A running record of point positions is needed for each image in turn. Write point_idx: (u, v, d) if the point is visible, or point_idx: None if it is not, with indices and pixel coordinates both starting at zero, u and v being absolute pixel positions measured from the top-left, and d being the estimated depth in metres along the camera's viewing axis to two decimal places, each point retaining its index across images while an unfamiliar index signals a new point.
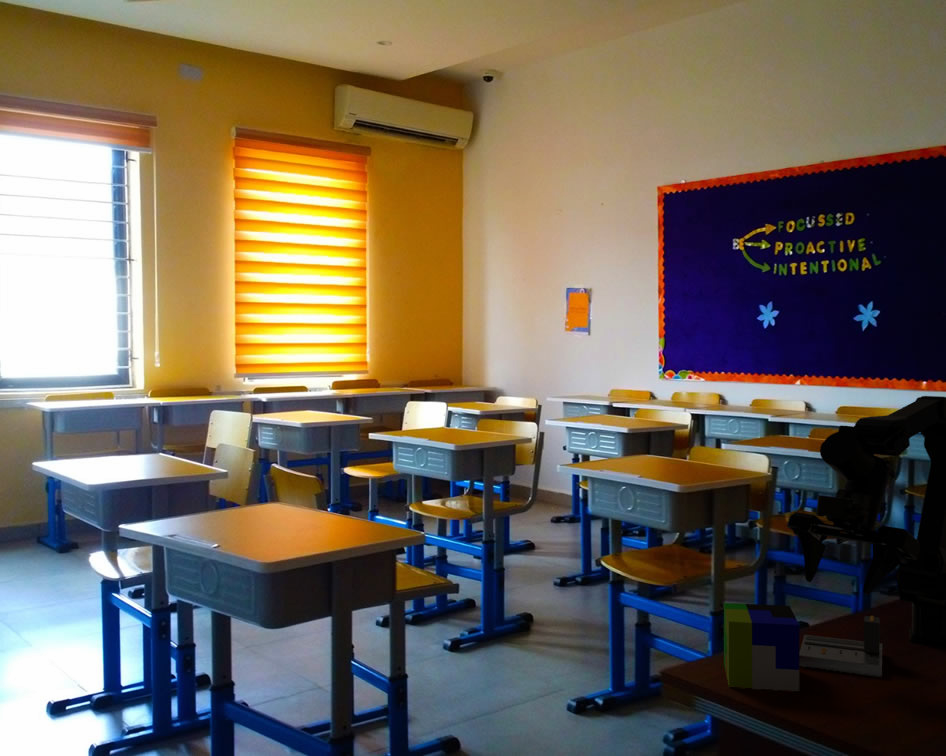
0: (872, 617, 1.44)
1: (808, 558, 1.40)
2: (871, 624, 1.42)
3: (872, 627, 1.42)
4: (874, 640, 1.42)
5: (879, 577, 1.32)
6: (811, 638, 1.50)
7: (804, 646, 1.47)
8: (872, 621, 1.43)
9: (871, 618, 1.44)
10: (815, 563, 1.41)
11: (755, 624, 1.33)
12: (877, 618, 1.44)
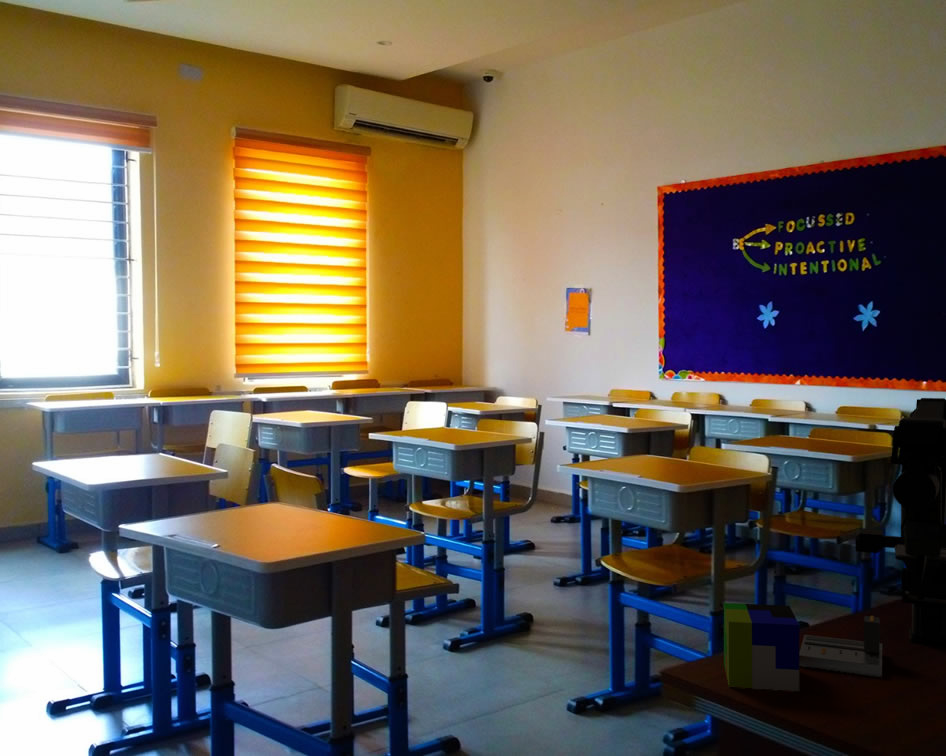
0: (872, 617, 1.44)
1: (916, 579, 1.40)
2: (871, 624, 1.42)
3: (872, 627, 1.42)
4: (874, 640, 1.42)
5: None
6: (811, 638, 1.50)
7: (804, 646, 1.47)
8: (872, 621, 1.43)
9: (871, 618, 1.44)
10: None
11: (755, 624, 1.33)
12: (877, 618, 1.44)
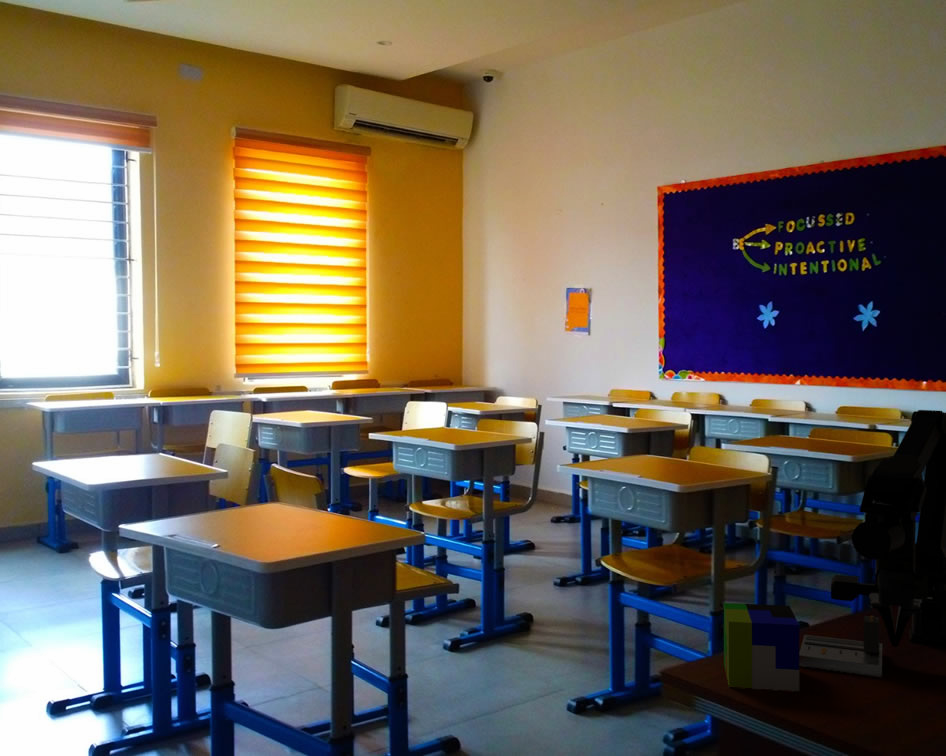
0: (872, 617, 1.44)
1: (890, 626, 1.42)
2: (871, 624, 1.42)
3: (872, 627, 1.42)
4: (874, 640, 1.42)
5: None
6: (811, 638, 1.50)
7: (804, 646, 1.47)
8: (872, 621, 1.43)
9: (871, 618, 1.44)
10: (893, 625, 1.43)
11: (755, 624, 1.33)
12: (877, 618, 1.44)
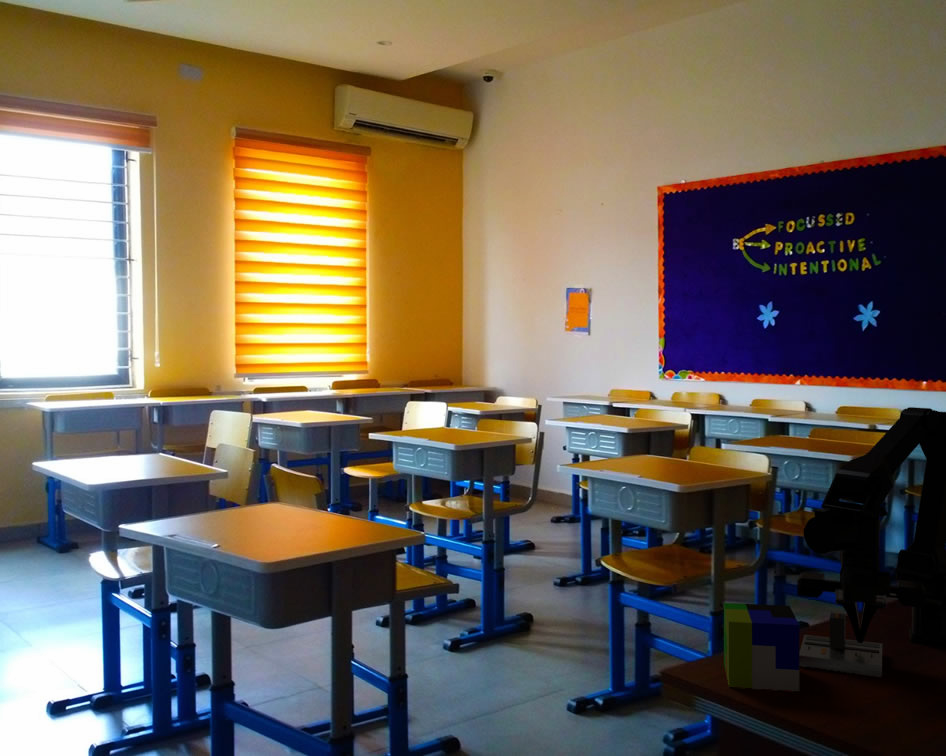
0: (838, 613, 1.46)
1: (855, 622, 1.44)
2: (837, 620, 1.45)
3: (838, 623, 1.45)
4: (839, 636, 1.44)
5: None
6: (811, 638, 1.50)
7: (804, 646, 1.47)
8: (837, 617, 1.45)
9: (837, 614, 1.46)
10: (858, 621, 1.45)
11: (755, 624, 1.33)
12: (843, 614, 1.47)
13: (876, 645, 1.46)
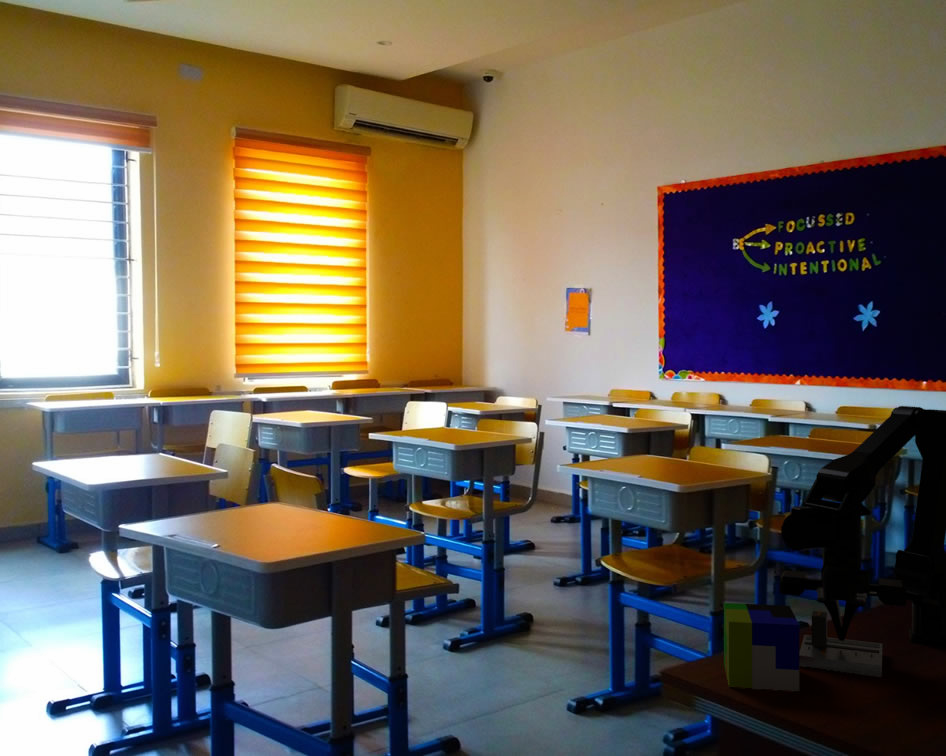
0: (820, 612, 1.48)
1: (837, 621, 1.45)
2: (818, 618, 1.46)
3: (819, 621, 1.46)
4: (821, 634, 1.46)
5: None
6: (811, 638, 1.50)
7: (804, 646, 1.47)
8: (819, 615, 1.46)
9: (819, 612, 1.47)
10: (840, 619, 1.46)
11: (755, 624, 1.33)
12: (825, 613, 1.48)
13: (876, 645, 1.46)
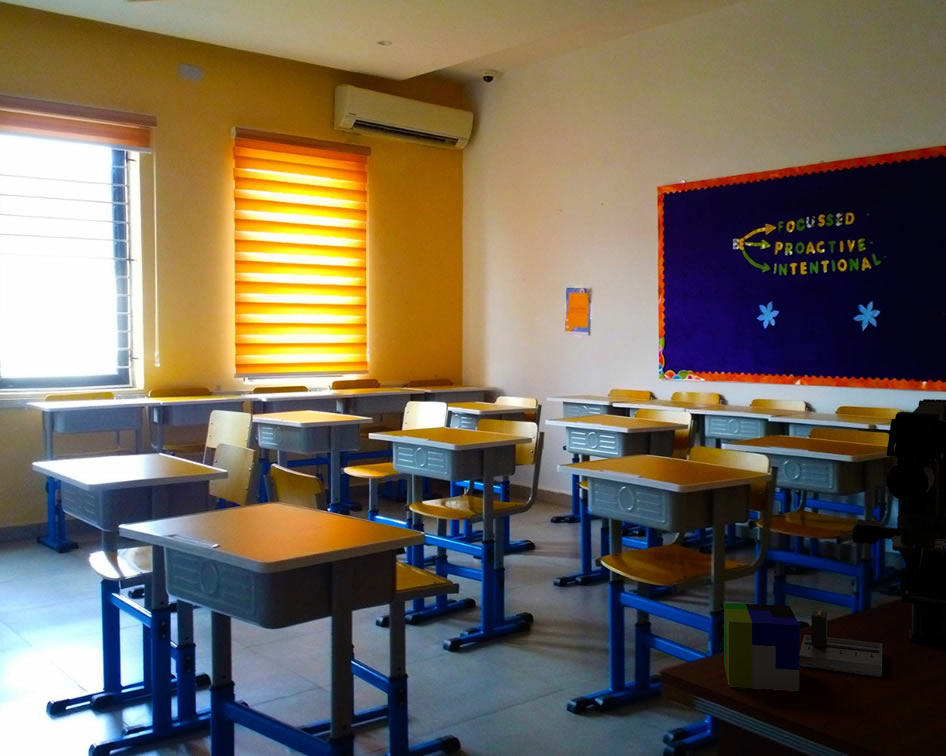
0: (820, 612, 1.48)
1: (913, 569, 1.42)
2: (818, 618, 1.46)
3: (819, 621, 1.46)
4: (821, 634, 1.46)
5: None
6: None
7: (804, 646, 1.47)
8: (819, 615, 1.46)
9: (818, 612, 1.47)
10: None
11: (755, 624, 1.33)
12: (825, 613, 1.48)
13: (876, 645, 1.46)
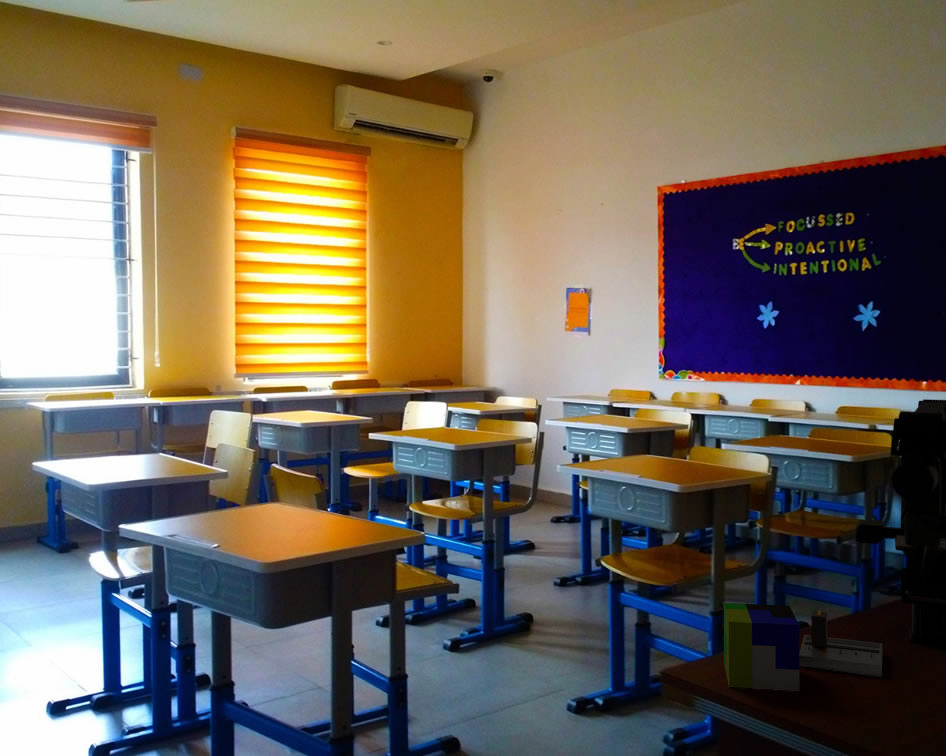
0: (820, 612, 1.48)
1: (916, 569, 1.42)
2: (818, 618, 1.46)
3: (819, 621, 1.46)
4: (821, 634, 1.46)
5: None
6: None
7: (804, 646, 1.47)
8: (819, 615, 1.46)
9: (818, 612, 1.47)
10: None
11: (755, 624, 1.33)
12: (825, 613, 1.48)
13: (876, 645, 1.46)
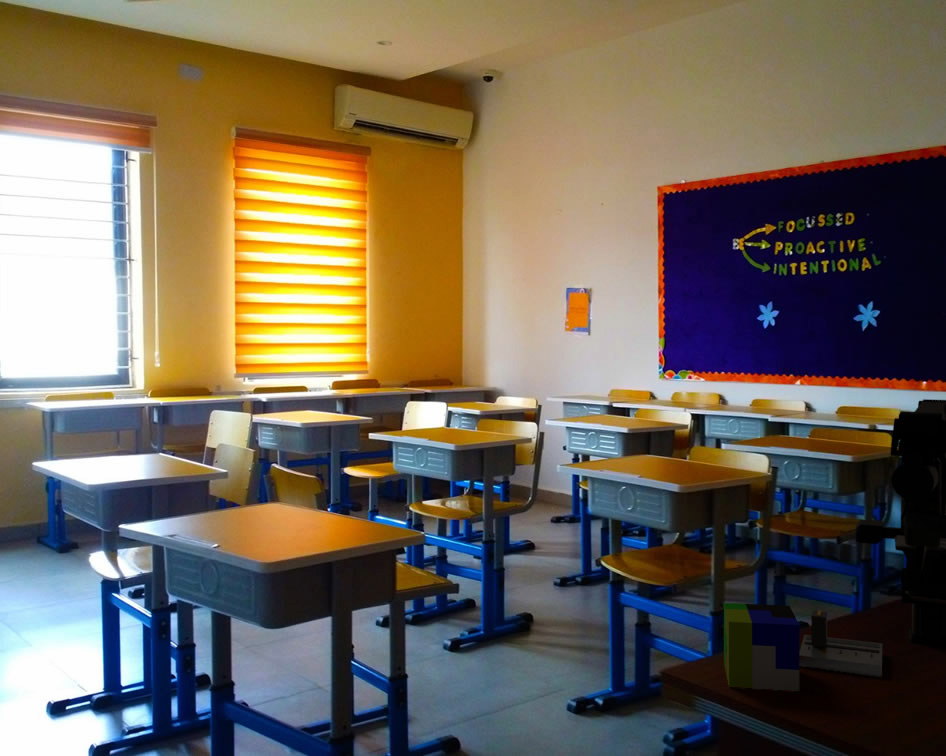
0: (820, 612, 1.48)
1: (916, 569, 1.42)
2: (818, 618, 1.46)
3: (819, 621, 1.46)
4: (821, 634, 1.46)
5: None
6: None
7: (804, 646, 1.47)
8: (819, 615, 1.46)
9: (818, 612, 1.47)
10: None
11: (755, 624, 1.33)
12: (825, 613, 1.48)
13: (876, 645, 1.46)
